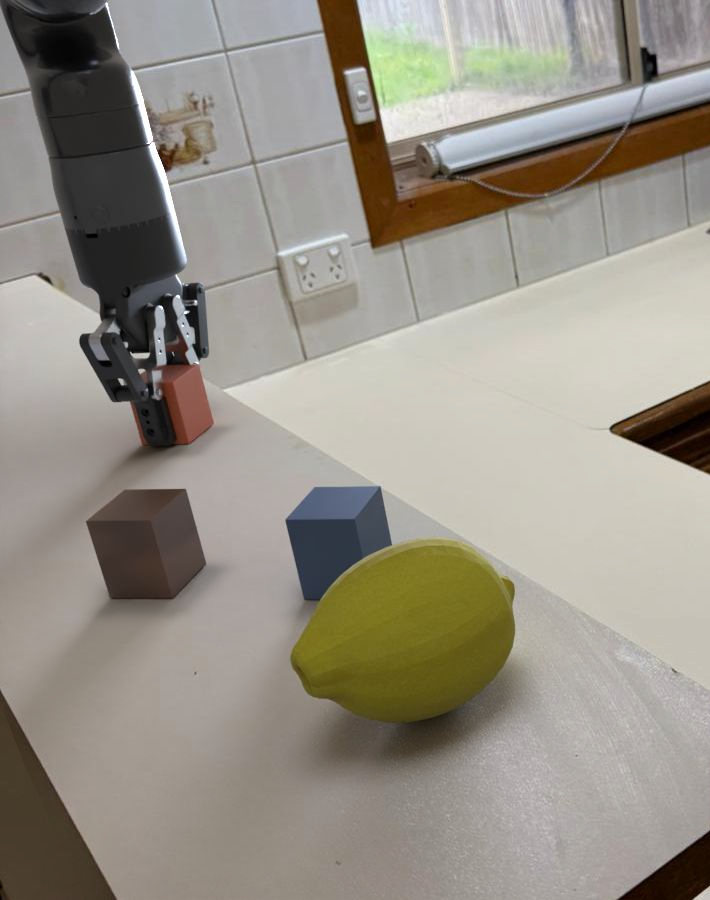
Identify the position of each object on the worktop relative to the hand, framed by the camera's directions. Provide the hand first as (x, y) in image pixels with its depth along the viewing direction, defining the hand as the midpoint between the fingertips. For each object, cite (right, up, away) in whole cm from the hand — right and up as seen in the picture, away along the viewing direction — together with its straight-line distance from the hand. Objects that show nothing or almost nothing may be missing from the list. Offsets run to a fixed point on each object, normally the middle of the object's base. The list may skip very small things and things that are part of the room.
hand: (177, 431), depth 88 cm
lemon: (+25, -13, -36) cm, 45 cm away
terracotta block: (0, 0, 0) cm, 0 cm away
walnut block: (+7, -9, -22) cm, 25 cm away
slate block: (+19, -9, -24) cm, 32 cm away
